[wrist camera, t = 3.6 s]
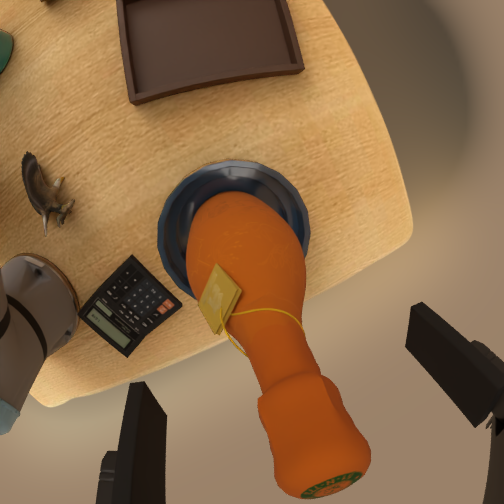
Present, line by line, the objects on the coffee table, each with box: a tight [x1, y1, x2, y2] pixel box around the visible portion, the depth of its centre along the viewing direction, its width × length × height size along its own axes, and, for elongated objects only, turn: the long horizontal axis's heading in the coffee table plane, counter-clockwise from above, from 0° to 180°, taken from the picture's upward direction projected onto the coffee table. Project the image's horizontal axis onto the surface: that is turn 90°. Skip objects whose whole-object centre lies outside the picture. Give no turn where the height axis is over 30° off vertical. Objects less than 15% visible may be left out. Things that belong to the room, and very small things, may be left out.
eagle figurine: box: [21, 151, 75, 237], centre depth 26 cm, size 8×7×9 cm
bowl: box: [157, 159, 311, 300], centre depth 32 cm, size 16×16×5 cm
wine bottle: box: [186, 191, 371, 499], centre depth 20 cm, size 10×10×30 cm
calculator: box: [77, 255, 182, 358], centre depth 34 cm, size 9×12×3 cm
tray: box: [116, 0, 305, 106], centre depth 24 cm, size 20×16×3 cm
